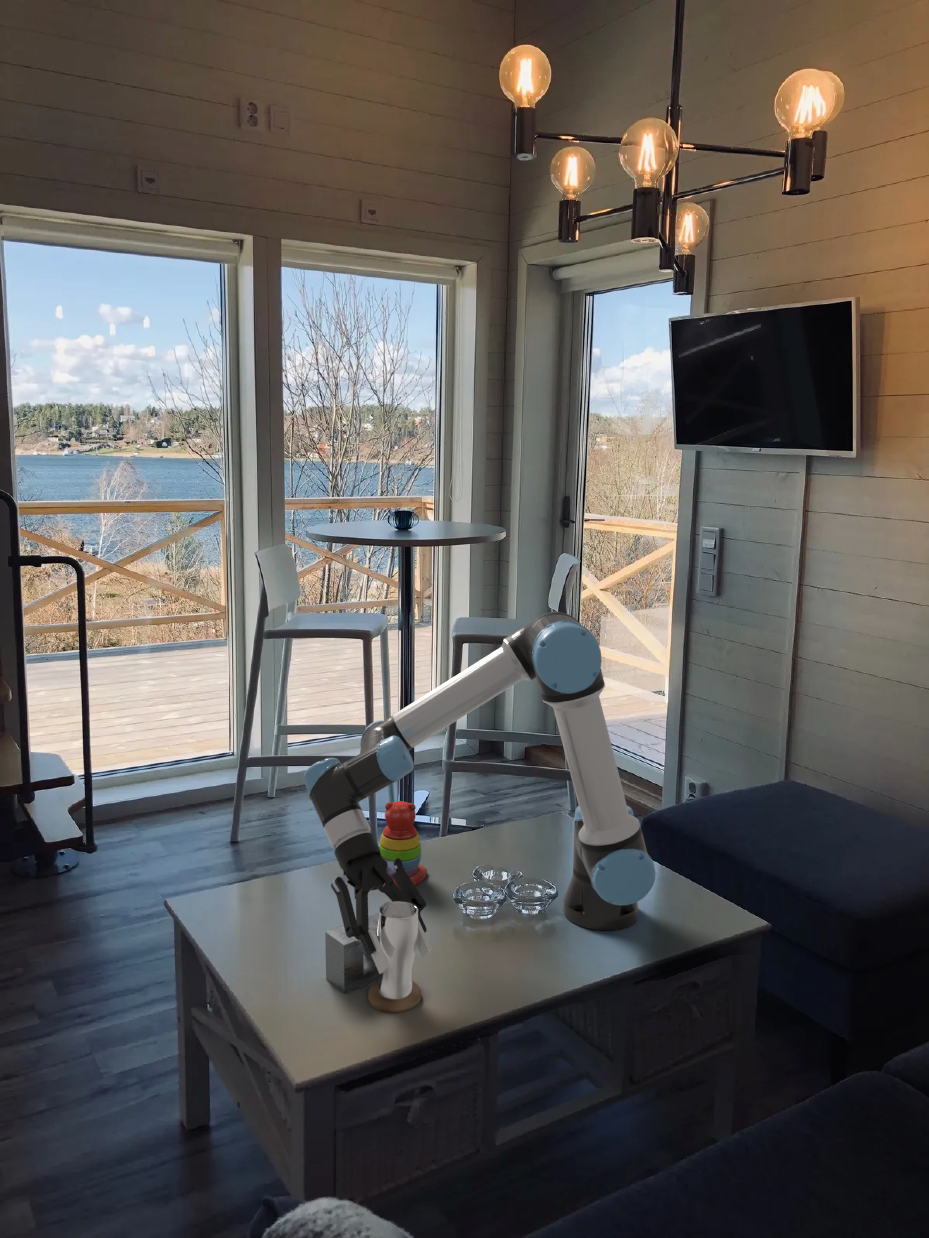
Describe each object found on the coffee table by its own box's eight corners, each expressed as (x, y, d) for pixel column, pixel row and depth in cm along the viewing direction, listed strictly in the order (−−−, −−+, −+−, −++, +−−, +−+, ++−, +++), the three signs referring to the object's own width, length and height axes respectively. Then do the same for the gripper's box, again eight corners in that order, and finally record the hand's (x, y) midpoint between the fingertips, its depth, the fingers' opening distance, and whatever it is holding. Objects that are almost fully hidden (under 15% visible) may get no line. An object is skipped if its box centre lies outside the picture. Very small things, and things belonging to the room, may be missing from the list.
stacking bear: (428, 871, 217) (429, 795, 214) (419, 891, 207) (420, 811, 204) (381, 867, 218) (381, 792, 215) (370, 887, 208) (370, 808, 205)
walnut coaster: (424, 984, 171) (424, 979, 170) (416, 1014, 162) (416, 1008, 162) (373, 981, 171) (373, 976, 171) (363, 1010, 163) (363, 1005, 162)
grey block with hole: (326, 978, 172) (325, 931, 171) (381, 957, 180) (381, 911, 178) (344, 993, 168) (343, 944, 166) (400, 970, 175) (400, 924, 174)
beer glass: (370, 983, 168) (373, 902, 166) (408, 977, 171) (412, 898, 168) (381, 1005, 162) (384, 921, 160) (420, 998, 164) (424, 916, 162)
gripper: (392, 836, 181) (445, 950, 172) (293, 865, 168) (344, 990, 158) (409, 817, 176) (464, 934, 167) (308, 846, 163) (362, 974, 154)
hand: (406, 961), depth 163 cm, fingers open, 8 cm apart
